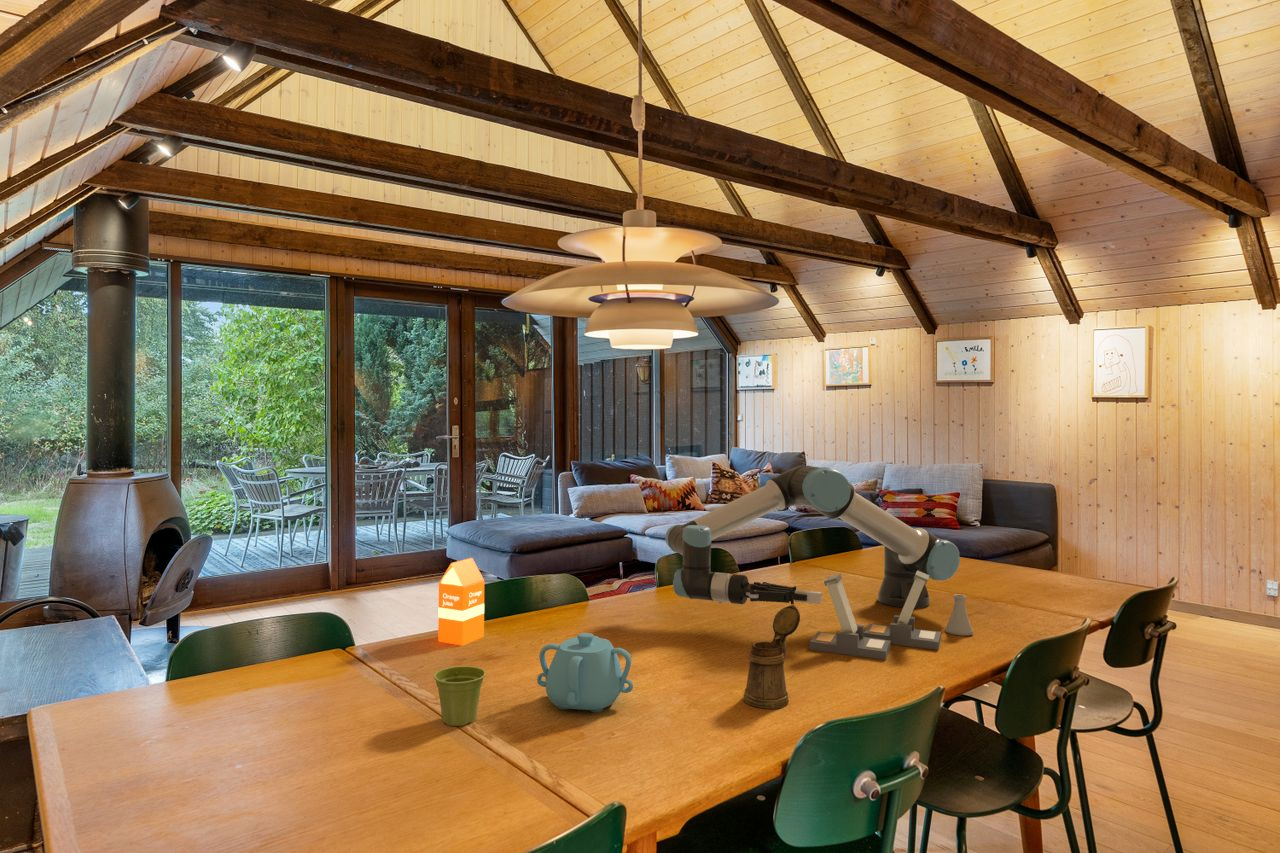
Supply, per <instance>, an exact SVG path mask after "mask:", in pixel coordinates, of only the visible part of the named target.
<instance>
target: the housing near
mask: <svg viewBox="0 0 1280 853" xmlns="http://www.w3.org/2000/svg"><path fill="white" fill-rule="evenodd" d="M856 625H857V631H856V633H848V632H842V631H838V630H837V632H836V633H835V632H833V633H832V632H828V631H827V632H825V631H820V630H818V631H817V632H816V633H815V634H814V635H813V637H812V638H811V639H810V640H809V650H811V651H818V652H824V653H825V652H826V653H832V654H838V655H846V656H851V657H852V656H853V657H860V658H868V659H869V658H870V659H875V660H884V661H886V660H887V658H888V655H889V653H890V652H891V649H892V646H891V645H892V644H891V641H890V640H882V639H874V638H867V637H864V631H865V625H864V624H858V623H856Z"/></svg>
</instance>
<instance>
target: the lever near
mask: <svg viewBox="0 0 1280 853" xmlns="http://www.w3.org/2000/svg"><path fill="white" fill-rule="evenodd" d="M842 579H843V577H842V574H841V573H838V574H834V575H829V576H828V577H826V578H825V580H824V581H823V583H824V586H825V587H826V588H827V591H828V593H829V596H830V599H831V601H832V605H833V607H834V611H835V614H836V617H837V619H838V622H839V626H840V628H841V632H848V633H856V631H857V625H856V624H857V623H856V619H855V617H854V614H853V611H852V608H851V605H850V602H849V599H848V596H847V594H846V590H845V588H844V584H843V582H842Z"/></svg>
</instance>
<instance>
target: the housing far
mask: <svg viewBox="0 0 1280 853" xmlns="http://www.w3.org/2000/svg"><path fill="white" fill-rule="evenodd" d="M899 617H900V615H896V614H894V616H893V622H890V624H889V625H888V624H887V625H886V624H885V625H884V624H879V623H876V624H875V623H871V622H870V623H868V625H867V626H866V627H865V628H864V637H867V638H874V639H882V640H890V641H891V645H893V644H896V645H895V646H901V645H903V646H904V647H909V646H912V647H911V648H917V647H919V649H925V648H927V649H926V650H933V649H934V650H933V651H939V650H940V645H941V640H942V632H941V631H936V630H926V629H918V628H915V622H916V620H915V616H911V617H910V619H909V622H908V624H907V625H905V624H897V621H898V619H899Z"/></svg>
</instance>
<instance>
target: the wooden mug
mask: <svg viewBox="0 0 1280 853" xmlns="http://www.w3.org/2000/svg"><path fill="white" fill-rule="evenodd" d="M800 622H801V614H800V611H799V609H798V608H797V606H796V605H795V604H790V605H787V606H785V607H783V608H782V609H780V610H778V611H777V613H776V615H774V619H773V622H772V630H773V632H774V637H773V638H772V640H771V642H768V641H755V642H753V643H751V649H750V650H749V654H748V660H749V668H748V672H747V680H746V685H745V686H746V687H745V688H744V689H745V690H744V691H743V692H744V693H743V701H744V703H746V704H748V705H749V706H752V707H755V708H759V709H766V710H767V709H769V710H773V709H775V710H776V709H781V708H784V707H786V706H787V705H788V704H789V692H788V691H787V684H786V675H785V666H784V664H785V661H786V658H787V637H788V636H790V635H792V634H794V633H795V631H796V630H797V629H798V627H799V624H800Z"/></svg>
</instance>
